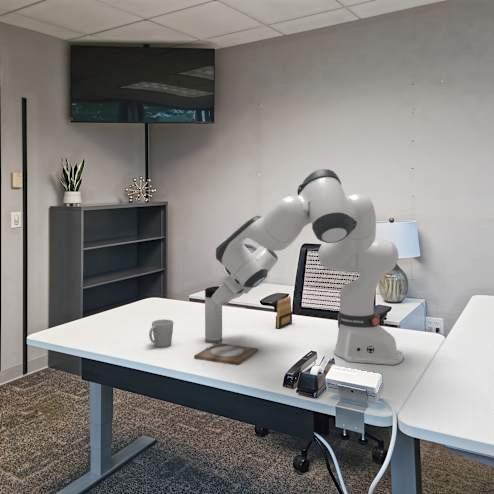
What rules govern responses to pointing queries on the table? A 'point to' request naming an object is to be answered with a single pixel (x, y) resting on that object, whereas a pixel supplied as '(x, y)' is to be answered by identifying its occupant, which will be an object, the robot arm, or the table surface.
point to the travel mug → (212, 318)
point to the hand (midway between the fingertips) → (217, 305)
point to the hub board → (226, 353)
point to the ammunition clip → (283, 313)
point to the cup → (161, 333)
